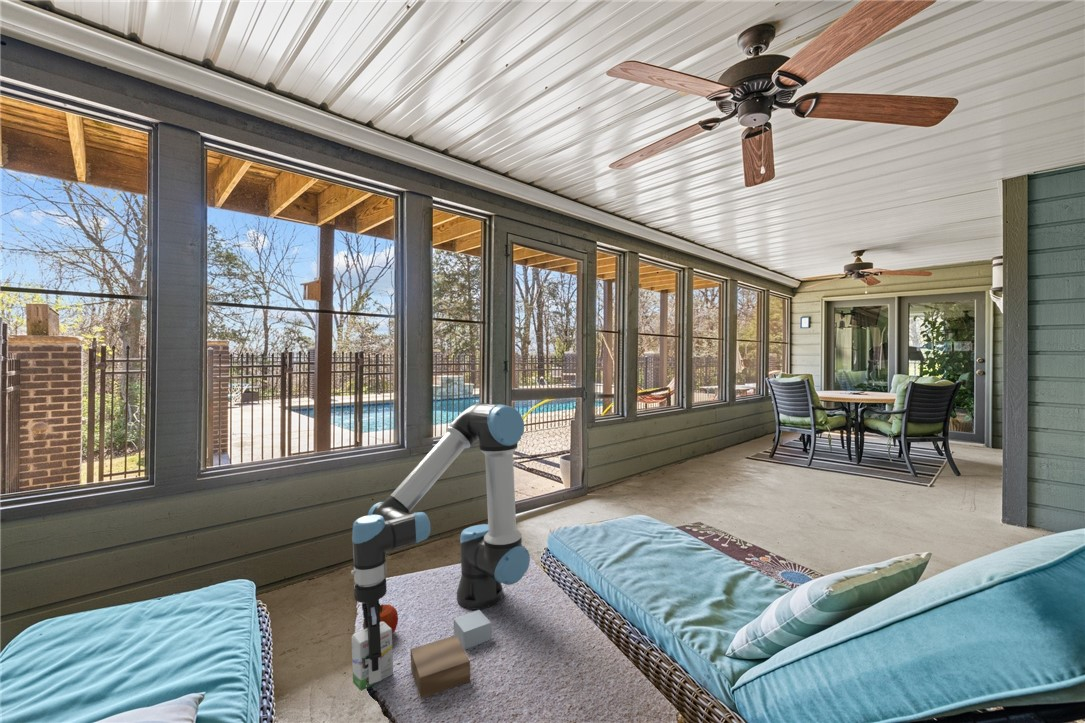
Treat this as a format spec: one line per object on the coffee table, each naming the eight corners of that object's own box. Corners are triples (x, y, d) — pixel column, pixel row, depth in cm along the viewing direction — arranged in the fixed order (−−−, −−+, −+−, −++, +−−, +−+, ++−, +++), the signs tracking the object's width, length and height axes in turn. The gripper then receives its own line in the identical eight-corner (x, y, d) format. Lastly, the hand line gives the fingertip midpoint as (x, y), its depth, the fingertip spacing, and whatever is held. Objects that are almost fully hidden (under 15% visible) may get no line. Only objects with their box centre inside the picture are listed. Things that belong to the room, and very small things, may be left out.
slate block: (454, 635, 131) (453, 618, 131) (479, 626, 135) (479, 609, 135) (464, 650, 124) (464, 632, 124) (491, 640, 128) (490, 622, 128)
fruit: (402, 640, 129) (401, 604, 129) (366, 651, 124) (365, 615, 124) (394, 623, 138) (393, 590, 138) (360, 634, 133) (359, 600, 133)
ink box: (360, 692, 109) (359, 643, 109) (352, 682, 113) (350, 634, 113) (394, 673, 115) (392, 627, 115) (384, 665, 119) (383, 620, 119)
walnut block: (411, 668, 117) (410, 649, 117) (456, 653, 123) (456, 635, 122) (420, 699, 106) (420, 677, 106) (470, 681, 112) (469, 661, 112)
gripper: (351, 567, 121) (353, 653, 121) (357, 602, 103) (360, 703, 103) (380, 561, 125) (383, 645, 125) (392, 594, 107) (395, 692, 107)
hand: (373, 671), depth 114 cm, fingers open, 7 cm apart
